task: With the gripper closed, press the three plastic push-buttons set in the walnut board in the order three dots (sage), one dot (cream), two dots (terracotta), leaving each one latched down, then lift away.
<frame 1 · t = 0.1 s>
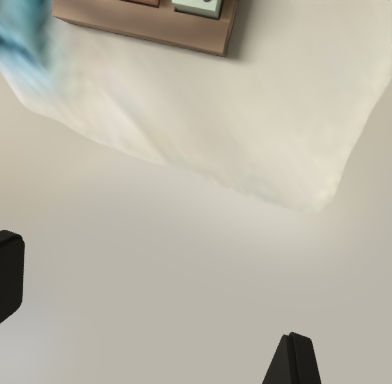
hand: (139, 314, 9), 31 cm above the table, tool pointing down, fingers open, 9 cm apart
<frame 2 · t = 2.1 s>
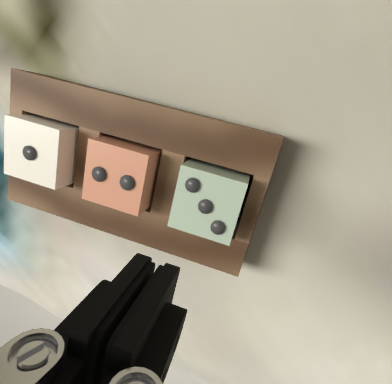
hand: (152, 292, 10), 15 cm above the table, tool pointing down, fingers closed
button three dots: (208, 200, 22), point 3 cm above the table, slide at 0.0 cm
button two dots: (122, 174, 23), point 3 cm above the table, slide at 0.0 cm
button one dot: (43, 150, 24), point 3 cm above the table, slide at 0.0 cm
button board: (137, 167, 26), on the table
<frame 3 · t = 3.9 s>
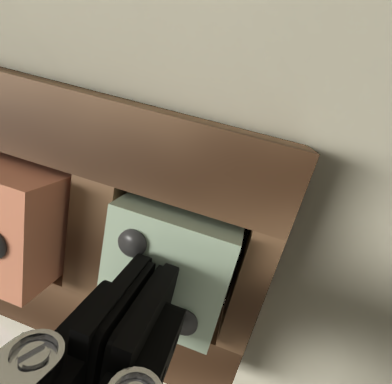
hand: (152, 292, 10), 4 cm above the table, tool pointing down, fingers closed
button three dots: (171, 263, 12), point 2 cm above the table, slide at 1.1 cm, touching gripper
button two dots: (0, 220, 12), point 3 cm above the table, slide at 0.0 cm
button board: (51, 199, 15), on the table
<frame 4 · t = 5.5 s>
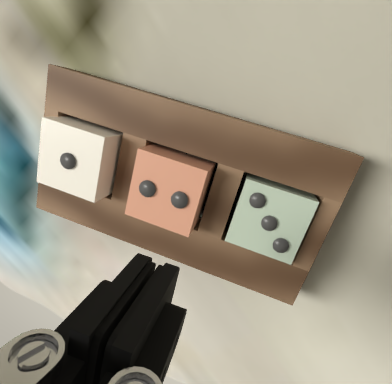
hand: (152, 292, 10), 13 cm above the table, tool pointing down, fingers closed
button three dots: (268, 215, 21), point 2 cm above the table, slide at 1.4 cm
button two dots: (170, 188, 20), point 3 cm above the table, slide at 0.0 cm
button one dot: (80, 157, 21), point 3 cm above the table, slide at 0.0 cm
button board: (181, 179, 23), on the table
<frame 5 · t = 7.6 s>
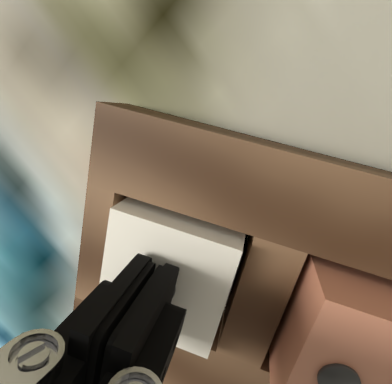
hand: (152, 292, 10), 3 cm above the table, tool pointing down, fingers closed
button two dots: (363, 355, 10), point 3 cm above the table, slide at 0.0 cm
button one dot: (172, 267, 12), point 2 cm above the table, slide at 1.2 cm, touching gripper
button board: (340, 300, 12), on the table
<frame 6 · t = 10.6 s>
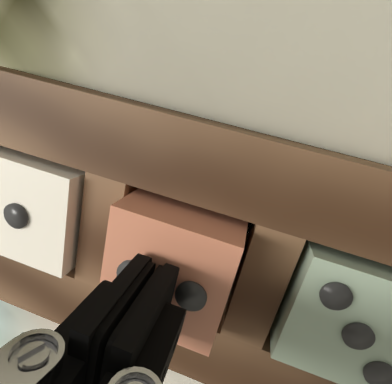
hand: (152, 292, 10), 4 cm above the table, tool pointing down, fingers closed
button three dots: (346, 309, 12), point 2 cm above the table, slide at 1.4 cm
button two dots: (173, 264, 12), point 3 cm above the table, slide at 0.3 cm, touching gripper
button one dot: (40, 205, 14), point 2 cm above the table, slide at 1.4 cm
button board: (189, 237, 14), on the table
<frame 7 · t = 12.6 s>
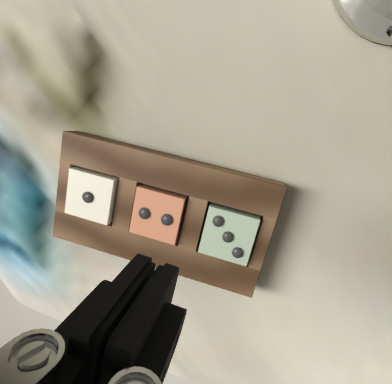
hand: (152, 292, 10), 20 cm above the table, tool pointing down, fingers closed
button three dots: (229, 231, 28), point 2 cm above the table, slide at 1.4 cm
button two dots: (160, 212, 29), point 2 cm above the table, slide at 1.4 cm
button one dot: (95, 194, 30), point 2 cm above the table, slide at 1.4 cm
button board: (164, 207, 31), on the table
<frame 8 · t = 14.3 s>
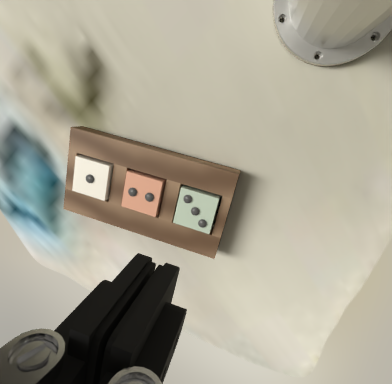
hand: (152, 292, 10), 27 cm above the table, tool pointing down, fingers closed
button three dots: (197, 207, 37), point 2 cm above the table, slide at 1.4 cm
button two dots: (145, 191, 38), point 2 cm above the table, slide at 1.4 cm
button one dot: (96, 176, 39), point 2 cm above the table, slide at 1.4 cm
button board: (150, 188, 39), on the table
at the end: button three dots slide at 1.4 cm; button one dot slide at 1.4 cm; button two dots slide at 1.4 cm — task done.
